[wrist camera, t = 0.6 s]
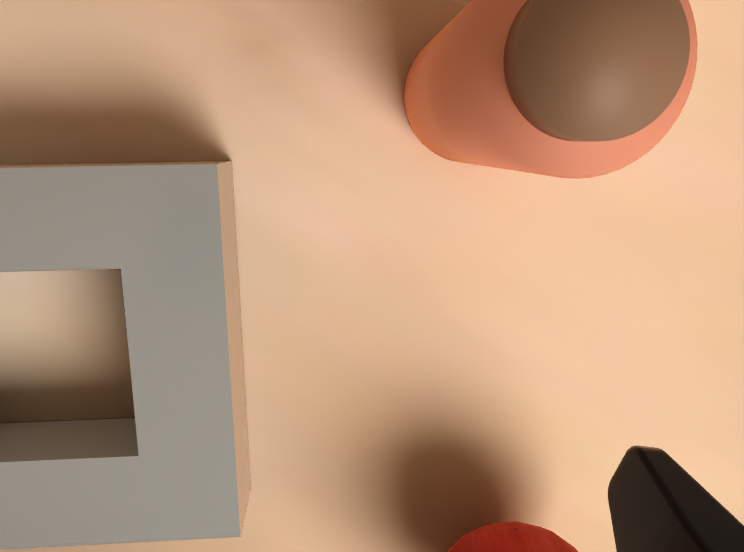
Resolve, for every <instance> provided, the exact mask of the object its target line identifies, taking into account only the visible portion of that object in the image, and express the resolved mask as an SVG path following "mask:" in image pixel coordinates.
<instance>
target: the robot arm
mask: <svg viewBox="0 0 744 552" xmlns="http://www.w3.org/2000/svg"><path fill="white" fill-rule="evenodd" d="M608 501H609V507H610V513H611V519H612V525H613V532H614V538H615V544H616V550H617V552H744V525H743V524H741V523H740V522H739V521H738V520H737V519H736V518H735V517H734V516H733V515H732V514H731V513H730V512H729V511H728V510H727V509H726V508H724V507H723V506H722V505H721V504H720V503H719V502H718V501H717V500H716V499H715V498H714V497H713V496H712V495H711V494H710V493H709V492H707V491H706V490H705V489H704V488H703V487H702V486H701V485H700V484H699V483H698V482H697V481H696V480H695V479H694V478H693V477H691V476H690V475H689V474H688V473H687V472H686V471H685V470H684V469H683V468H682V467H681V466H680V465H679V464H678V463H677V462H676V461H674V460H673V459H672V458H671V457H670V456H669V455H668V454H667V453H666V452H665V451H663V450H661V449H659V448H654V447H645V446H632V447H631V448H629V449H628V450H627V452H626V454H625V455H624V457H623V459H622V461H621V463H620V464H619V466H618V468H617V470H616V471H615V473H614V475H613V477H612V479H611V481H610V483H609V487H608Z"/></svg>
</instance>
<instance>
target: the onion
mask: <svg viewBox="0 0 744 552" xmlns="http://www.w3.org/2000/svg"><path fill="white" fill-rule="evenodd" d="M446 552H578V551H577V550H576V549H575V548H574V547H573V546H572V545H570V544H569V543H567V542H566V541H565V540H563V539H562V538H560V537H559V536H558V535H556V534H555V533H553V532H552V531H549V530H547V529H544V528H542V527H538V526H534V525H529V524H525V523H521V522H516V521H515V522H503V523H490V524H487V525H485V526H482V527H480V528H478V529H475V530H473V531H470V532H468V533H466V534H464V535H463V536H462V537H461V538H460V539H459V540H458V541H457V542H456V543H455V544H454V545H453V546H451V547H450V548H449V549H448V550H447V551H446Z"/></svg>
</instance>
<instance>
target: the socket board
mask: <svg viewBox="0 0 744 552" xmlns="http://www.w3.org/2000/svg"><path fill="white" fill-rule="evenodd" d="M91 269H121V277H122V287H123V297H124V308H125V318H126V329H127V339H128V350H129V360H130V371H131V381H132V392H133V402H134V413H135V418H122V419H98V420H74V421H49V422H25V423H1V424H0V549H19V548H38V547H56V546H75V545H94V544H113V543H132V542H151V541H170V540H188V539H207V538H226V537H241V532H242V528H243V523H244V519H245V514H246V510H247V505H248V501H249V496H250V491H251V480H250V463H249V445H248V428H247V411H246V394H245V377H244V360H243V343H242V326H241V309H240V292H239V275H238V258H237V241H236V223H235V206H234V189H233V172H232V161H202V162H147V163H91V164H36V165H0V272H19V271H55V270H91Z"/></svg>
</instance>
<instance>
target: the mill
mask: <svg viewBox="0 0 744 552" xmlns="http://www.w3.org/2000/svg"><path fill="white" fill-rule="evenodd" d="M696 62H697V34H696V25H695V21H694V17H693V12H692V9H691V6H690V4H689V1H688V0H471V1H470V2H469V3H468V4H467V5H466V6H465V7H464V8H463V9H462V10H461V11H460V12H459V13H458V14H457V15H456V16H455V17H454V18H453V19H452V20H451V21H450V22H449V23H448V24H447V25H446V26H445V27H444V28H443V29H442V30H441V31H440V32H439V33H438V34H437V35H436V36H435V37H434V38H433V39H432V40H431V41H430V42H429V43H428V44H427V45H426V46H425V47H424V48H423V49H422V50H421V51H420V52H419V54H418V55H417V56H416V58H415V60H414V61H413V63H412V65H411V67H410V69H409V72H408V75H407V78H406V83H405V89H404V103H405V110H406V115H407V118H408V121H409V123H410V126H411V128H412V130H413V131H414V133H415V134H416V136H417V137H418V139H419V140H420V141H421V142H422V143H423V144H424V145H425V146H426V147H427V148H428V149H429V150H431V151H432V152H434V153H435V154H437V155H439V156H441V157H443V158H445V159H448V160H451V161H456V162H462V163H469V164H475V165H482V166H488V167H495V168H501V169H508V170H514V171H521V172H528V173H534V174H541V175H547V176H554V177H560V178H576V179H578V178H589V177H595V176H600V175H604V174H608V173H610V172H613V171H616V170H619V169H621V168H623V167H625V166H627V165H629V164H631V163H633V162H634V161H636V160H637V159H639V158H640V157H642V156H643V155H645V154H646V153H647V152H648V151H650V150H651V149H652V148H653V147H654V146H655V145H656V144H657V143H658V142H659V141H660V140H661V139H662V138H663V137H664V136H665V135H666V133H667V132H668V131H669V130H670V128H671V127H672V125H673V124H674V123H675V121H676V120H677V118H678V116H679V115H680V113H681V111H682V109H683V107H684V105H685V103H686V100H687V98H688V95H689V93H690V90H691V87H692V83H693V79H694V75H695V69H696Z"/></svg>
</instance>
